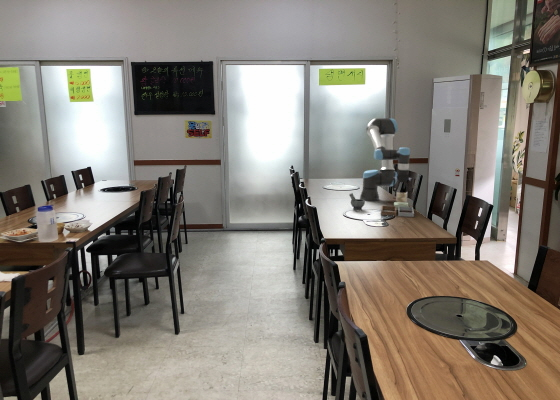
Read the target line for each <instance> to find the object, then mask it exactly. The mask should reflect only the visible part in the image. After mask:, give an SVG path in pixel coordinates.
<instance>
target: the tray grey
mask: <svg viewBox="0 0 560 400" xmlns="http://www.w3.org/2000/svg"><path fill="white" fill-rule="evenodd" d="M400 211H402V212H400ZM403 211H405V212H403ZM408 211H409V212H408ZM397 213H398V217H407V218H414V217H415V212H414V207H413V206H408V207H398V210H397Z"/></svg>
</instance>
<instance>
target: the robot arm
mask: <svg viewBox="0 0 560 400" xmlns="http://www.w3.org/2000/svg"><path fill="white" fill-rule="evenodd" d="M365 131H366V133H367V135H368V137H369V138H370V141H371V142H372V146H373V148H374V150H373V151H374V152H373V158H374V160H376V161H377V160H378V161H381V168H380V169H379V170H378V169H369V170H368V169H367V170H365V171H364V172H363V176H362V190H361V194H359V195H360V196H359V199H361V200H365V202H366V201H367V202H368V201H369V202H375V201H376V202H377V201H379V200H380V195H379V192H378V187H388V188H389V187H392V192H394V197H395V202H397V195H398V193H399V191H398V189H399V186H400V185H401V183H404V184H405V187H406V192H405V193H406V203H408V198H410V193H412V192H413V189H412V188H413V187H412V184H413V182H412V181H413V177H409V173H410V170H409V169H410V154H411V149H410V148H409V147H399V149H398V148H396V149H393V148H394V137H395V136H396V135H395V134H396V133H397V132H398V123H397V121H396V119H394V118H390V117H388V118H385V117H384V118H382V117H381V118H379V117H375V118H373V119H371V120H369V121H368V123H367V125H366V130H365ZM394 161H398V162H397V171H396V169H395V168H394ZM408 180H409V187H408V183H407V181H408ZM397 181H398V182H397ZM396 184H397V185H396Z"/></svg>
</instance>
